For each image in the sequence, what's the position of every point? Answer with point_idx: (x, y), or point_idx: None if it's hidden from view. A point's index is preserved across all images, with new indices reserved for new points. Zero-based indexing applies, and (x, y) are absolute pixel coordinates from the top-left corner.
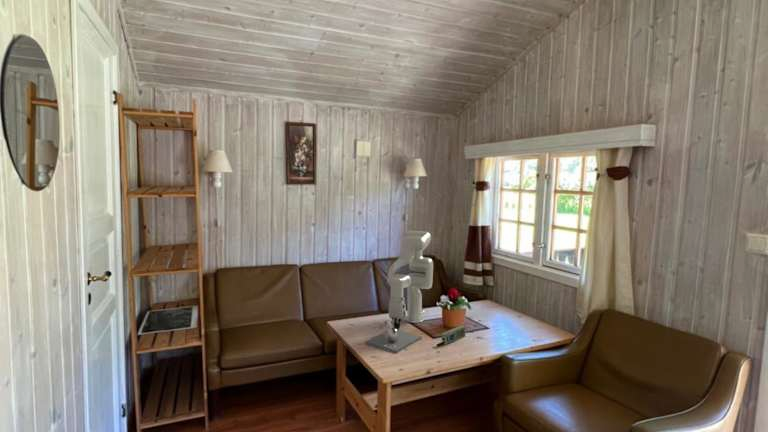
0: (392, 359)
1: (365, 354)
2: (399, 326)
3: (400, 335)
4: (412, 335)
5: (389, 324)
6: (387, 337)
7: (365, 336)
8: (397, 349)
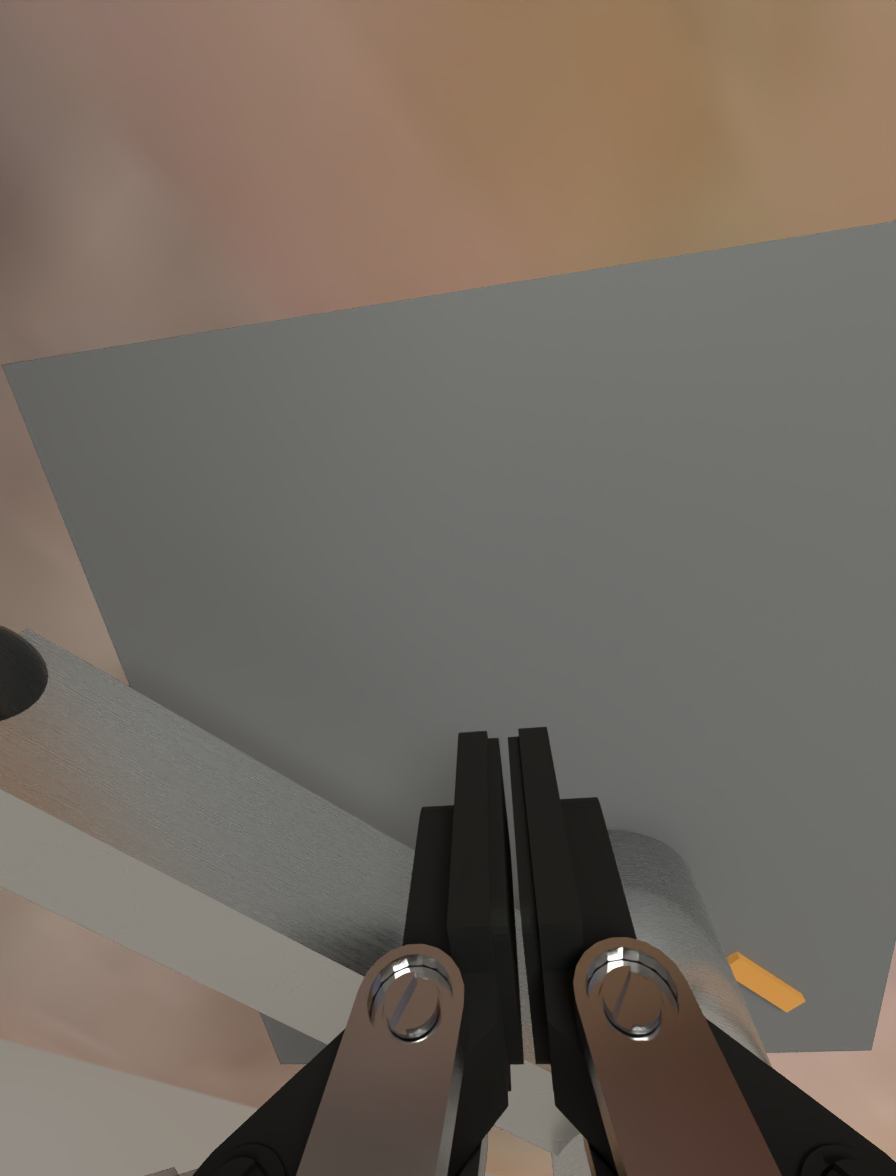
0: (890, 1117)
1: (533, 1165)
2: (606, 835)
3: (522, 577)
4: (778, 366)
5: (293, 994)
6: (399, 811)
7: None
8: (862, 1021)
